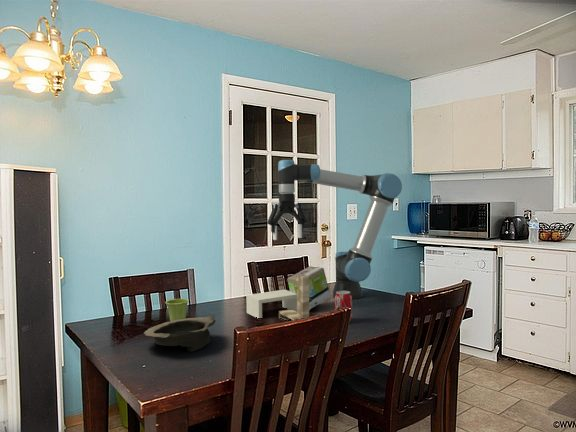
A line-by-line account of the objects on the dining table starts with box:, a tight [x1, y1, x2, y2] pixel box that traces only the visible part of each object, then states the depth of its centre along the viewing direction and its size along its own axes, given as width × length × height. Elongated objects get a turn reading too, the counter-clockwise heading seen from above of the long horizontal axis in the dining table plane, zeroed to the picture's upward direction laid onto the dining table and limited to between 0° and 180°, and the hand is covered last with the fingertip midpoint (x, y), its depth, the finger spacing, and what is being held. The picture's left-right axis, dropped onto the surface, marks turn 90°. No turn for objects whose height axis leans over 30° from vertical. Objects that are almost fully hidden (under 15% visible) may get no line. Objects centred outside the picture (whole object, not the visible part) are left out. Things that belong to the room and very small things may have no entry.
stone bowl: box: [143, 315, 216, 353], centre depth 155 cm, size 25×25×9 cm
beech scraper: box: [278, 274, 310, 321], centre depth 181 cm, size 16×6×20 cm, turn 30°
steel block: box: [278, 316, 293, 322], centre depth 187 cm, size 6×6×1 cm
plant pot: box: [165, 298, 189, 322], centre depth 185 cm, size 9×9×9 cm
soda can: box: [334, 291, 353, 322], centre depth 181 cm, size 7×7×12 cm
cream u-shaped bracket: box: [245, 289, 297, 319], centre depth 197 cm, size 20×12×8 cm, turn 121°
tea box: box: [287, 266, 332, 311], centre depth 202 cm, size 15×10×15 cm, turn 130°
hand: (287, 238), depth 207 cm, fingers open, 13 cm apart
